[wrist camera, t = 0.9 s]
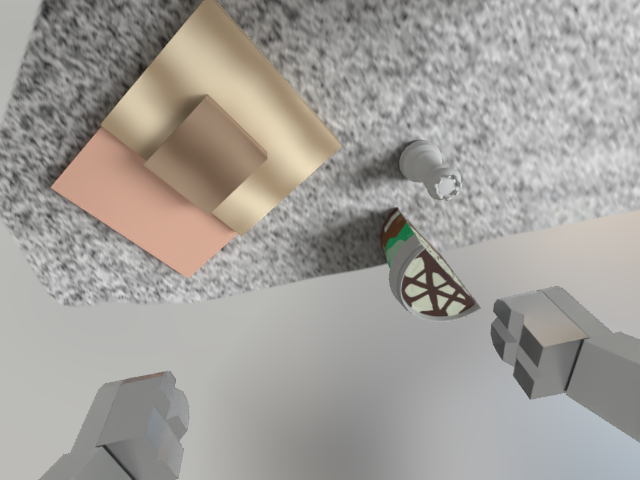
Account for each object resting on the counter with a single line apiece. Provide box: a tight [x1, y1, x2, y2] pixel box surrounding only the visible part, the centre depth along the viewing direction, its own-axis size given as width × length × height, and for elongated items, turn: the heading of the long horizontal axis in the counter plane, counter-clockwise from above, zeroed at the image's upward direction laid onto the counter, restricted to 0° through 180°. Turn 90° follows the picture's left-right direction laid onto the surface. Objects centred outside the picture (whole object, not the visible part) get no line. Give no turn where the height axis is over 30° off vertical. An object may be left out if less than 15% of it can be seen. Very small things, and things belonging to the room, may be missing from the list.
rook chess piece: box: [399, 140, 462, 201], centre depth 36 cm, size 4×4×8 cm
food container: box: [381, 207, 481, 322], centre depth 41 cm, size 12×6×10 cm, turn 42°
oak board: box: [100, 0, 342, 236], centre depth 34 cm, size 14×16×3 cm
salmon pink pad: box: [50, 126, 238, 278], centre depth 38 cm, size 9×16×2 cm, turn 41°
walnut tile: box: [144, 94, 267, 215], centre depth 33 cm, size 8×7×2 cm
